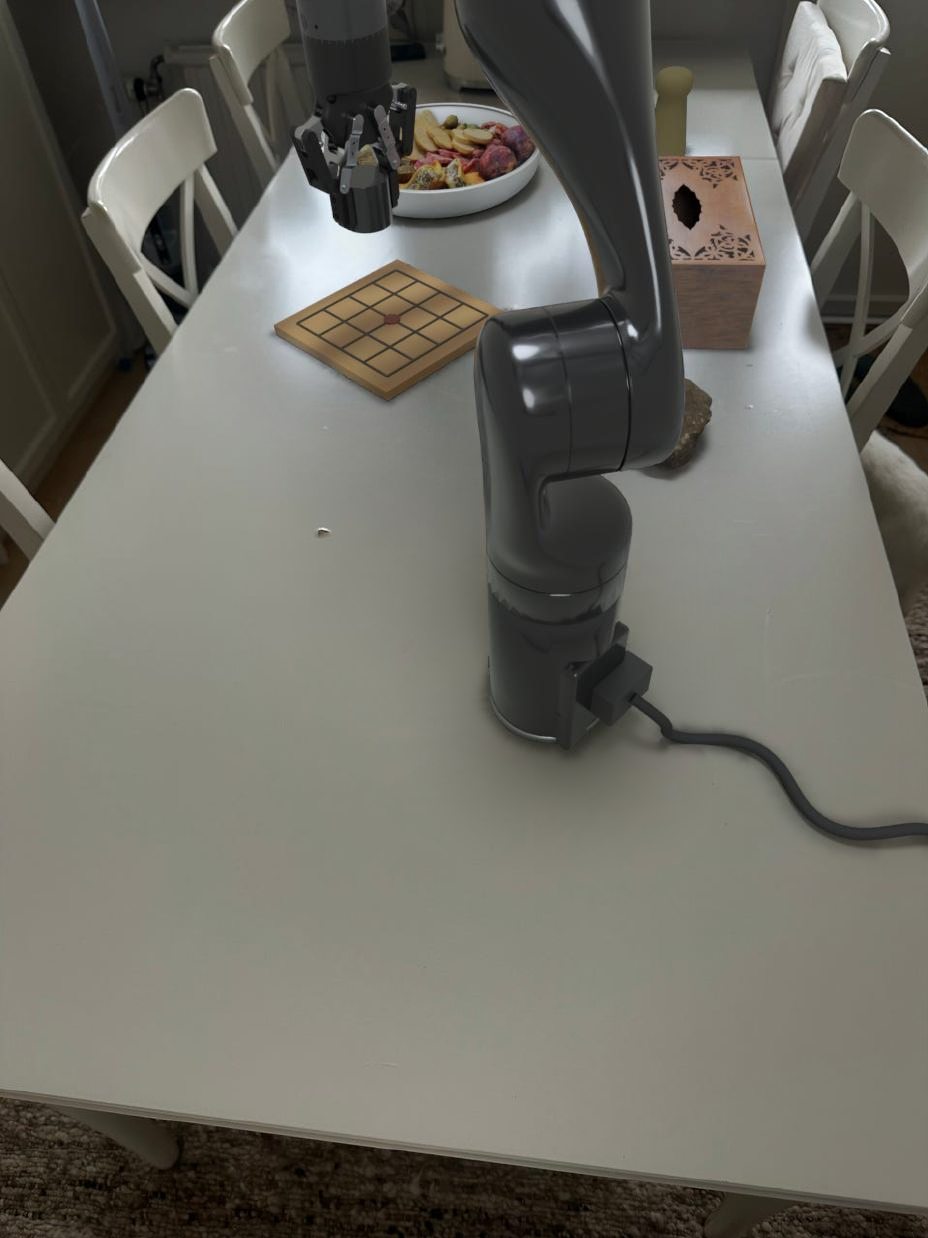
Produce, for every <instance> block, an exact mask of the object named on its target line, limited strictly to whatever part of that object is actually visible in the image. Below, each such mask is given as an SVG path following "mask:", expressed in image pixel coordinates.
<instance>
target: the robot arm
mask: <svg viewBox="0 0 928 1238" xmlns="http://www.w3.org/2000/svg"><path fill="white" fill-rule="evenodd" d="M295 4H296V11H297V16H298V17H297V18H298V24H299V31H300V36H301V42H302V48H303V54H304V61H305V67H306V73H307V79H308V82H309V85H310V87H311V90H312V91H313V95H314V106H313V111H312V112H313V113H312V114H313V115H312V117H311V118H310V119H309V120H308V121H306V122H305V123H304V124H302V125H299V124H297V123H293V124H292V125H291V126H290V127H289V136H290V139H291V141H292V144H293V147H294V149H295V151H296V154H297V156H298V159H299V162H300V165H301V167H302V170H303V173H304V175H305V177H306V180H307V182H308V185H309V186H310V187H312V188H314V189H316V190H319V191H320V192H322V193H325V194H326V195H328V197H329V202H330V209H331V215H332V219H333V221H334V222H335V223H336V224H338V225H339V227H341V228H343V229H345V230H347V231H350V230H352V229H353V228H355V227H356V219H355V211H354V204H353V197H352V191H350V190H349V189H350V183H351V175H352V169H353V168H354V167H355V166H356V164H357V156H358V151H359V150H361V149H362V148H363V147H364V146H365V145H369V147H370V149H371V151H372V153H373V155H374V158H375V160H376V161H377V162H378V165H377V166H380V167H382V168H384V169H385V170H386V171H387V172H388V176H389V185H390V195H391V204H392V209H393V208H395V207H397V206H398V199H399V195H400V191H399V180H398V170H397V168H398V167H399V166H400V160H401V159H402V158H403V157H404V156H407V157H408V156H410V155H411V154H412V151H413V141H414V128H415V114H416V105H417V99H418V98H417V97H418V90H417V89H416V87H414V86H411V85H409V84H407V83H404V82H400V81H397V80H395V81H393V82H392V83H390V80H391V79H392V76H393V64H392V54H391V43H390V33H389V23H388V21H389V20H388V13H387V1H386V0H295ZM453 5H454V12H455V17H456V20H457V24H458V27H459V29H460V32H461V35H462V36H463V39H464V41H465V43H466V45H467V47H468V49H469V51H470V53H471V55H472V57H473V59H474V61H475V62H476V65H478V68H479V69H480V71H481V72H482V74H483V75H484V77H485V79H486V81H488V83H489V84H490V86H491V87H492V89H493V90H494V92H495V93H496V95H497V96H498V98H499V99H500V101H501V102H502V103H503V104H504V106H505V107H506V109H507V111H508V112H511V114H512V115H513V117H514V118H515V119H516V121H517V122H518V123H519V125H520V126H521V127H522V129H523V130H524V131H525V133H526V134H527V135H528V136H529V138H530V139H531V140H532V142H533V143H534V144H535V146H536V147H537V148H538V150H539V151H540V153H541V156H542V157H543V159H544V160H545V162H546V163H547V164H548V166H549V168H550V169H551V170H552V172H553V173H554V175H555V176H556V178H557V180H558V182H559V184H560V185H561V187H562V188H563V190H564V192H565V194H566V196H567V198H568V199H569V201H570V203H571V205H572V207H573V210H574V212H575V214H576V216H577V219H578V221H579V224H580V226H581V229H582V231H583V234H584V238H585V241H586V244H587V247H588V252H589V255H590V259H591V262H592V263H591V264H592V266H593V270H594V271H593V272H594V277H595V282H596V289H597V296H598V297H596V298H587V299H581V300H575V301H574V300H573V301H567V302H561V303H554V304H553V303H552V304H548V305H547V304H546V305H541V306H540V305H539V306H534V307H527V308H520V309H513V310H508V311H505V312H502V313H499V314H495V315H493V316H491V317H490V318H488V319H487V320H486V321H485V322H484V324H483V326H482V327H481V329H480V332H479V334H478V337H477V340H476V346H475V347H474V353H473V386H474V388H473V389H474V401H475V410H476V411H475V412H476V418H477V428H478V436H479V444H480V456H481V457H480V458H481V464H482V465H481V466H482V467H481V468H482V469H481V470H482V487H483V488H482V491H483V504H484V505H483V506H484V507H483V508H484V522H485V523H484V525H485V555H486V556H485V557H486V558H485V559H486V593H487V622H488V623H487V624H488V625H487V626H488V650H489V651H488V652H489V654H488V656H487V667H488V669H489V676H490V678H489V685H488V686H489V688H488V689H489V700H490V701H489V702H490V704H491V707H492V709H493V712H494V714H495V715H496V717H497V718H498V720H499V721H500V722H501V723H502V724H503V726H505V727H506V728H507V729H508V730H510V731H511V732H512V733H514V734H516V735H517V736H519V737H522V738H524V739H526V740H530V741H534V742H537V743H546V744H556V745H558V746H560V747H562V749H564V750H566V751H569V750H571V749H572V748H573V747H574V746H575V745H576V744H577V743H578V742H579V741H580V740H581V739H582V738H583V737H584V736H585V735H586V734H588V732H590V731H591V730H592V729H593V728H595V727H596V726H597V724H598V723H600V721H601V722H603V723H604V724H606V725H607V726H609V727H612V726H614V725H615V724H616V723H617V722H618V721H619V720H620V719H621V718H622V717H623V716H624V715H625V714H626V713H627V712H628V711H629V710H630V709H631V708H632V707H635V709H637V710H638V711H640V712H641V713H642V714H644V715H645V716H646V717H647V718H649V719H650V720H652V721H653V722H654V723H655V724H656V725H657V726H659V727H660V733H661V735H662V737H663V738H664V739H667V740H670V741H672V742H676V743H679V744H684V745H685V744H686V745H709V746H728V747H734V748H739V749H743V750H746V751H748V752H751V753H753V754H755V755H756V756H757V757H759V758H761V759H762V760H763V761H765V763H767V764H768V765H769V766H770V767H771V769H773V772H775V774H776V775H777V776H778V778H779V780H780V781H781V783H782V785H783V786H784V788H785V790H786V791H787V794H788V795H789V796H790V798H791V799H792V801H793V803H794V804H795V806H796V807H797V808H798V810H799V811H800V812H801V813H802V814H803V815H804V817H806V818H807V820H808V821H810V822H811V823H812V824H814V825H815V826H816V827H818V828H819V829H821V830H822V831H824V832H826V833H827V834H831V835H833V836H835V837H837V838H842V839H847V840H850V841H883V840H889V839H897V838H904V837H913V836H923V837H925V836H926V837H928V823H927V822H904V823H897V824H890V825H889V824H888V825H882V826H874V827H873V826H872V827H857V826H848V825H844V824H841V823H838V822H836V821H833V820H832V819H830V818H828V817H827V816H824V815H823V814H822V813H820V811H818V810H817V809H816V808H815V807H814V806H813V805H812V804H811V803H810V801H809V800H808V798H807V797H806V795H805V794H804V793H803V791H802V790H801V788H800V786H799V784H798V783H797V782H796V780H795V778H794V776H793V775H792V773H791V771H790V770H789V768H788V767H787V766H786V765H785V763H784V762H783V761H782V760H781V758H780V757H779V756H778V755H777V754H775V753H774V752H773V751H772V750H771V749H770V748H768V747H766V746H765V745H763V744H761V743H760V742H758V741H756V740H753V739H751V738H748V737H745V736H741V735H736V734H727V733H696V732H695V733H694V732H684V731H679V730H676V729H673V728H674V727H673V723H672V722H671V719H670V718H668V716H666V715H665V714H664V713H663V712H662V711H660V709H658V708H657V707H656V706H654V705H653V704H651V703H650V702H649V701H647V700H646V699H645V698H644V697H643V696H644V695H645V693H647V692H648V691H649V688H650V683H651V680H652V679H651V678H652V674H653V670H654V667H653V666H652V665H651V664H650V663H648V662H647V661H645V660H643V659H642V658H641V657H639V656H638V655H636V654H635V653H633V652H632V651H630V650H627V649H628V641H629V635H630V628H629V626H627V625H626V624H625V623H623V622H621V621H620V614H621V608H622V601H623V595H624V587H625V584H626V583H625V582H626V577H627V576H626V575H627V569H628V562H629V555H630V550H631V544H632V538H633V525H634V524H633V516H632V510H631V507H630V505H629V502H628V500H627V499H626V497H625V495H624V494H623V493H622V491H621V490H620V489H619V488H618V487H617V486H616V485H615V484H614V483H613V482H611V481H610V480H609V479H607V477H605V476H602V475H605V474H607V475H608V474H613V473H619V472H625V471H631V470H636V469H643V468H646V467H652V466H653V465H654V464H658V463H661V462H662V461H664V460H665V459H667V458H668V457H669V456H670V455H671V454H672V453H673V451H674V450H675V448H676V446H677V444H678V442H679V439H680V435H681V431H682V427H683V420H684V409H685V378H686V374H685V360H684V359H685V358H684V348H682V340H681V331H680V323H679V314H678V306H677V299H676V291H675V284H674V276H673V269H672V261H671V254H670V246H669V239H668V231H667V223H666V216H665V208H664V200H663V192H662V184H661V176H660V167H659V157H658V147H657V133H656V119H655V107H656V103H655V92H654V90H655V89H654V87H655V86H654V67H653V66H654V65H653V45H652V23H651V22H652V21H651V0H453ZM388 113H389V124H388V121H387V116H388ZM400 128H402V140H401V139H400ZM322 133H324V141H323V139H322ZM338 147H339V148H341V149H343V150H345V151H344V154H342V153H340V152H339V151H338ZM322 148H323V149H322ZM338 165H339V175H338V176H337V174H338Z"/></svg>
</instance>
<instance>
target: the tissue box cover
mask: <svg viewBox="0 0 928 1238" xmlns="http://www.w3.org/2000/svg"><path fill="white" fill-rule="evenodd" d="M659 167H660V176H661V184H662V192H663V200H664V208H665V216H666V223H667V231H668V239H669V246H670V254H671V261H672V269H673V276H674V284H675V291H676V299H677V306H678V314H679V323H680V331H681V340H682V349H703V350H704V349H705V350H706V349H710V350H711V349H712V350H714V349H716V350H747V346H748V342H749V338H750V334H751V331H752V330H751V329H752V326H753V323H754V318H755V315H756V309H757V306H758V300H759V297H760V292H761V289H762V285H763V281H764V276H765V271H766V267H767V262H766V258H765V254H764V250H763V245H762V242H761V238H760V234H759V230H758V226H757V222H756V217H755V213H754V210H753V205H752V201H751V196H750V193H749V189H748V185H747V179H746V177H745V173H744V168H743V164H742V159H741V156H740V155H708V156H707V155H706V156H705V155H701V156H700V155H697V156H696V155H692V156H691V155H690V156H687V155H684V156H661V157H659Z"/></svg>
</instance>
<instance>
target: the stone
mask: <svg viewBox="0 0 928 1238" xmlns="http://www.w3.org/2000/svg"><path fill="white" fill-rule="evenodd" d="M712 405H713V397H712V396H711V395H709V394H708V392H706V391H705V390H703V389H702V388H700V387H699V386H698V385H697V384H696V383H695V382H693V380H691V379H689V378H686V377H685V409H684V420H683V427H682V431H681V435H680V439H679V442H678V444H677V446H676V448H675V450H674V451H673V453H672V454H671V455H670V456H669V457H668V458H667V459H665V460H664V461H662V462H661V463H658V464H654V465H652V466H653V467H657V468H666V469H669V470H675V469H678V468H681V467H682V466H684V465H687V464H688V463H689V462H690V461H691V459H692V456H693V452H694V450H695V449H696V447H697V445H698V444H699V439H700V436H701V435H702V433H703V431H704V429H705V427H706V425H707V424H709V422H710V421H711V420H712V419H711V418H712V417H713V414H712V413H713V411H712V410H711V407H712Z"/></svg>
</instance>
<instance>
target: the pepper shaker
mask: <svg viewBox="0 0 928 1238" xmlns="http://www.w3.org/2000/svg"><path fill="white" fill-rule="evenodd" d="M693 85H694V76H693V73H692V71H691V70H690V69H689V68H687V67H684V66H681V65H680V66H678V65H674V66H673V65H672V66H667V67H664V68H663V69H661V70H660V71H659V73H658V74H657V77H656V79H655V92H656V94H657V99H656V101H655V102H656V103H655V119H656V133H657V147H658V157H661V156H686V152H687V126H688V125H687V120H688V96H689V95H690V93H691V91H692V89H693Z"/></svg>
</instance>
